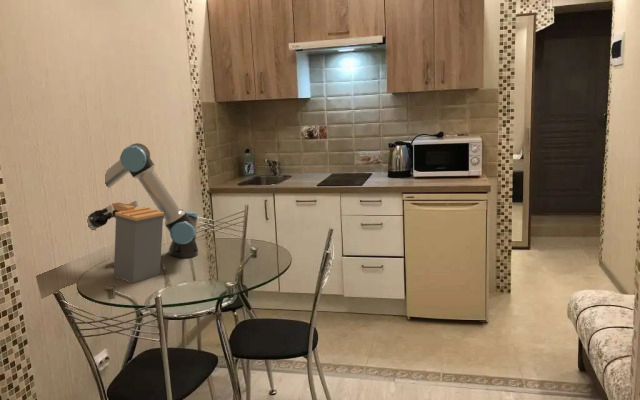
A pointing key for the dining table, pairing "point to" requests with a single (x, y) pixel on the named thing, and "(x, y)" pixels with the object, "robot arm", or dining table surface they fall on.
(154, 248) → the tall grey box
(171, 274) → the dining table surface
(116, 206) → the lid
